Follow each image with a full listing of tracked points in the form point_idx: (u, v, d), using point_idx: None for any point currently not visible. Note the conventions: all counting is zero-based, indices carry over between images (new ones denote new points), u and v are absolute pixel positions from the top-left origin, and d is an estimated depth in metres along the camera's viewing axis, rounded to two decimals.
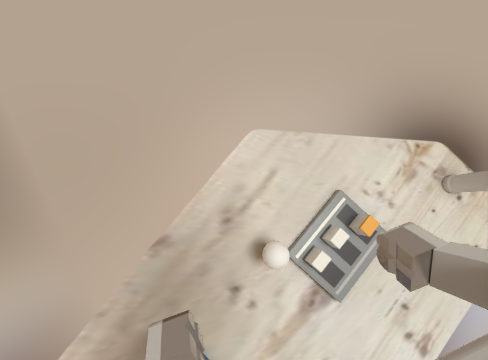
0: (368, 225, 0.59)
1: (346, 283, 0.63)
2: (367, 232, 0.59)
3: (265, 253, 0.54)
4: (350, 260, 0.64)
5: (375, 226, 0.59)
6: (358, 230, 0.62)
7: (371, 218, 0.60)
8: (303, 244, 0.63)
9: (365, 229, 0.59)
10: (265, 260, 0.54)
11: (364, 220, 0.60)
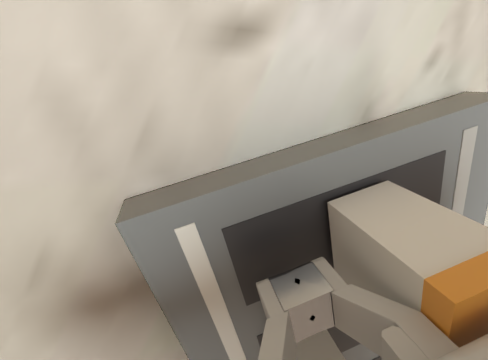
0: None
1: None
2: None
3: None
4: None
5: None
6: None
7: (477, 305, 0.06)
8: None
9: None
10: None
11: None
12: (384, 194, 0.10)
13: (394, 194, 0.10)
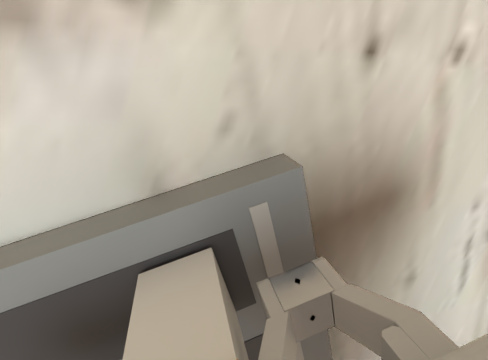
0: None
1: None
2: None
3: None
4: None
5: None
6: None
7: None
8: None
9: None
10: None
11: None
12: (191, 269, 0.09)
13: (199, 270, 0.09)
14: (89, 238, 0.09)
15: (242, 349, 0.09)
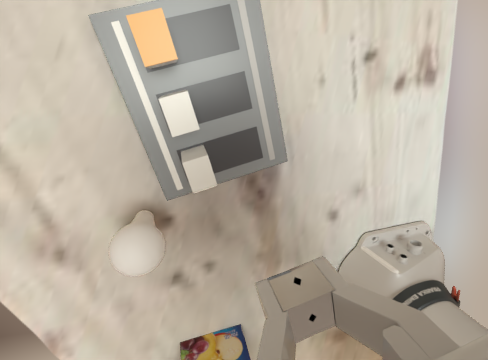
0: (149, 41, 0.22)
1: (270, 134, 0.34)
2: (164, 56, 0.23)
3: None
4: (243, 102, 0.32)
5: (161, 25, 0.22)
6: (160, 64, 0.25)
7: (136, 19, 0.21)
8: (165, 166, 0.32)
9: (154, 56, 0.23)
10: None
11: None
12: None
13: None
14: None
15: None
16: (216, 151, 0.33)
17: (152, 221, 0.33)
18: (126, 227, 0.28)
